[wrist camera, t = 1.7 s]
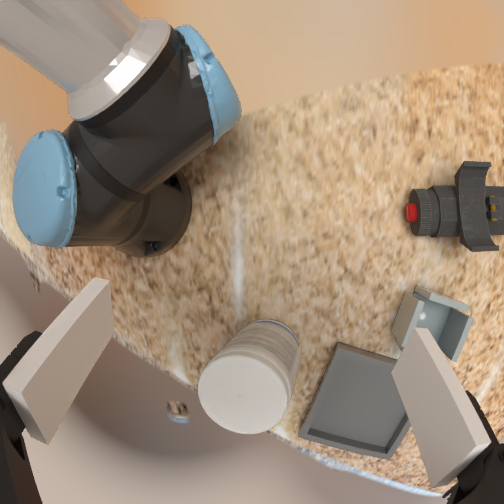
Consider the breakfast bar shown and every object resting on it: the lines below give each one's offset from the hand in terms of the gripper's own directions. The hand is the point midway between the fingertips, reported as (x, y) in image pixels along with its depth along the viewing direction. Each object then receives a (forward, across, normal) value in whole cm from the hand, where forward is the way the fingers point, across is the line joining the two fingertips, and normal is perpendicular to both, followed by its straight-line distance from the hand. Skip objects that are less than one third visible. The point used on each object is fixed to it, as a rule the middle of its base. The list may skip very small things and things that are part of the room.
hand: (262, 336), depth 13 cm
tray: (+19, +19, -25) cm, 36 cm away
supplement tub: (+24, +4, -21) cm, 33 cm away
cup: (+22, +24, -12) cm, 35 cm away
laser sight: (+27, +29, +3) cm, 39 cm away
